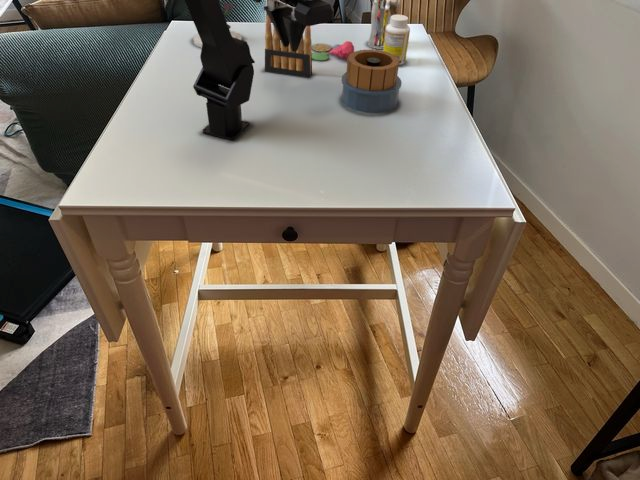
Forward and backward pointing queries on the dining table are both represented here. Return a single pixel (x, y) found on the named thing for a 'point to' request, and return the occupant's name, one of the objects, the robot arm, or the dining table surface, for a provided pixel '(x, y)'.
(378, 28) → the clear pen holder cup
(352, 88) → the pot lid
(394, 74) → the brown grooved ring
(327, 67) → the dining table surface
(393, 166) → the dining table surface
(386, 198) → the dining table surface
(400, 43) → the supplement bottle
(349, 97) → the pot
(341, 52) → the toy pieces
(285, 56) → the ammunition clip
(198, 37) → the monster figurine
